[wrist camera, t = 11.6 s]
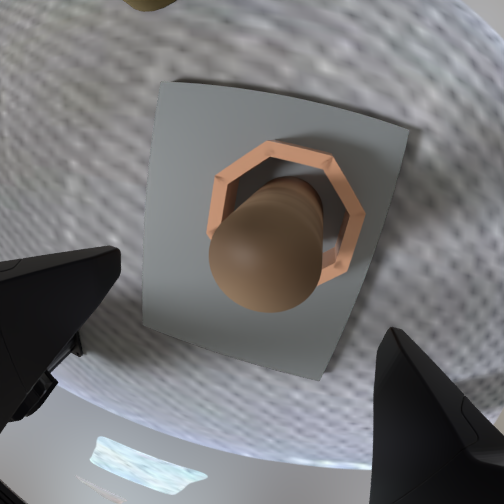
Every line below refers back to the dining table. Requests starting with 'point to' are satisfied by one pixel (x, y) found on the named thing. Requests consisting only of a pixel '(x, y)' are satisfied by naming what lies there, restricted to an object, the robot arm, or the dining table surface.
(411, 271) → the dining table surface
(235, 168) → the terracotta ring
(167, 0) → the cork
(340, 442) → the dining table surface
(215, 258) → the walnut cylinder
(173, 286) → the slate board
